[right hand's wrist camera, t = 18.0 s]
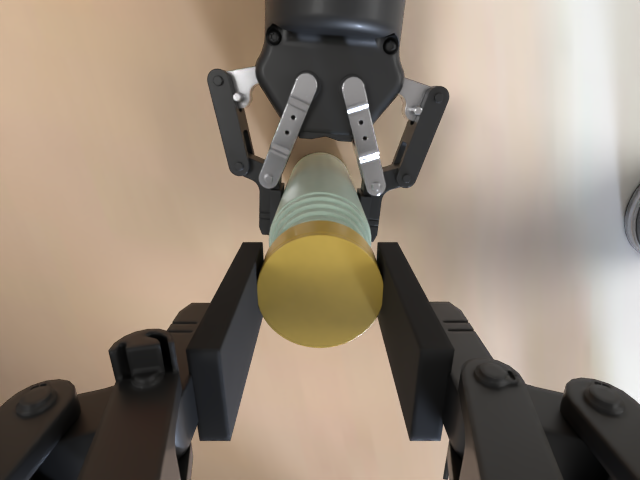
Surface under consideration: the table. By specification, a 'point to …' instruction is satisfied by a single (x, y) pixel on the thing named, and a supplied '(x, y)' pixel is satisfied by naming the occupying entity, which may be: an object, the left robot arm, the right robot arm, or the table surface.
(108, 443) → the right robot arm
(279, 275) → the cap
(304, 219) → the bottle
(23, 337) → the table surface
